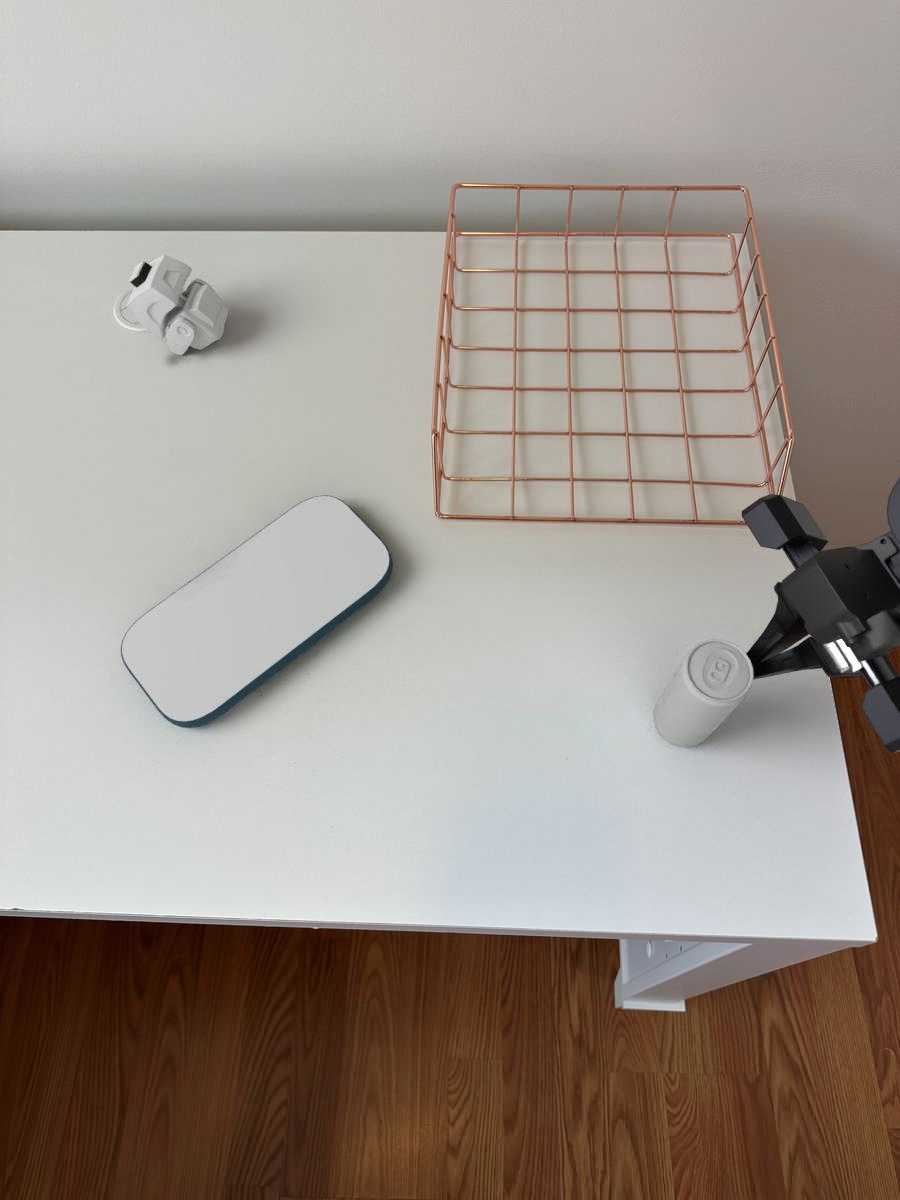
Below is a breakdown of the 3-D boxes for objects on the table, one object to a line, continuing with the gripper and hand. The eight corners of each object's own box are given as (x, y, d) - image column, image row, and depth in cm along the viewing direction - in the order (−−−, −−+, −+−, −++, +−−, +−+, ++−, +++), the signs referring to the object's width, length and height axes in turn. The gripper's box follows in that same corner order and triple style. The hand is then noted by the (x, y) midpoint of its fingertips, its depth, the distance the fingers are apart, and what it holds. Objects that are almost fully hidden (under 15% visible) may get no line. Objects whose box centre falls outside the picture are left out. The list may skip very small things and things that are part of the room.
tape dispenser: (212, 326, 90) (129, 263, 84) (247, 303, 85) (161, 234, 79) (194, 369, 87) (107, 308, 81) (229, 347, 83) (140, 280, 77)
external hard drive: (187, 746, 68) (179, 740, 66) (114, 648, 72) (104, 640, 70) (408, 574, 74) (406, 564, 72) (330, 492, 78) (326, 480, 76)
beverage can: (720, 708, 68) (765, 655, 57) (698, 760, 66) (741, 715, 56) (664, 682, 69) (699, 625, 58) (642, 732, 67) (673, 683, 57)
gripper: (816, 417, 50) (621, 562, 59) (1010, 691, 43) (754, 811, 51) (873, 452, 59) (694, 575, 67) (1044, 688, 51) (818, 792, 60)
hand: (735, 677), depth 61 cm, fingers closed
